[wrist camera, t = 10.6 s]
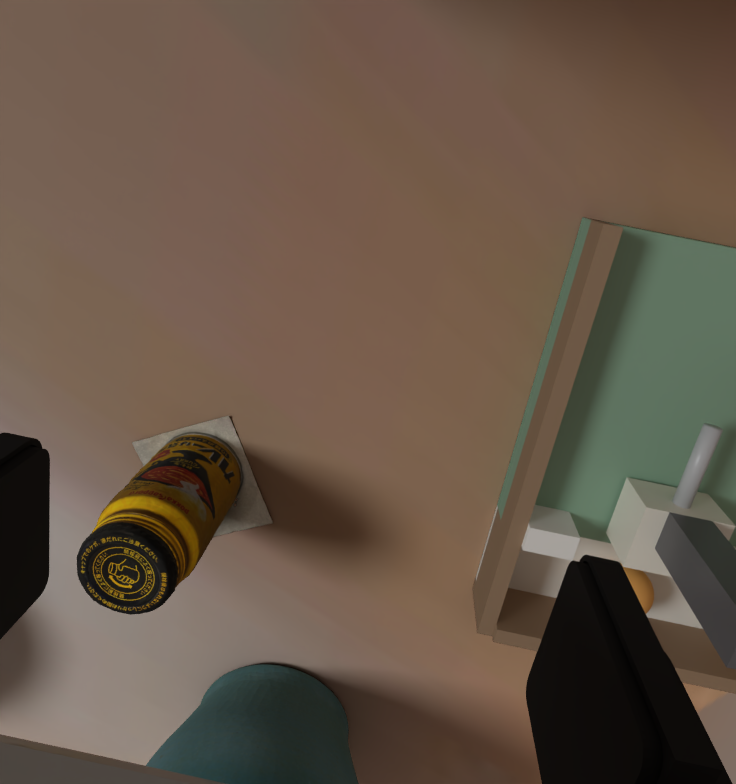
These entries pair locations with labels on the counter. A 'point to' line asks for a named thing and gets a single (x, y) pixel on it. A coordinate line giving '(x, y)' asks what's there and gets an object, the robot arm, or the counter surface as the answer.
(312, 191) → the counter surface
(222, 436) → the condiment
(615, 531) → the striker
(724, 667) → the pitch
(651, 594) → the ball
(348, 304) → the counter surface
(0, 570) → the robot arm
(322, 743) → the flower pot
